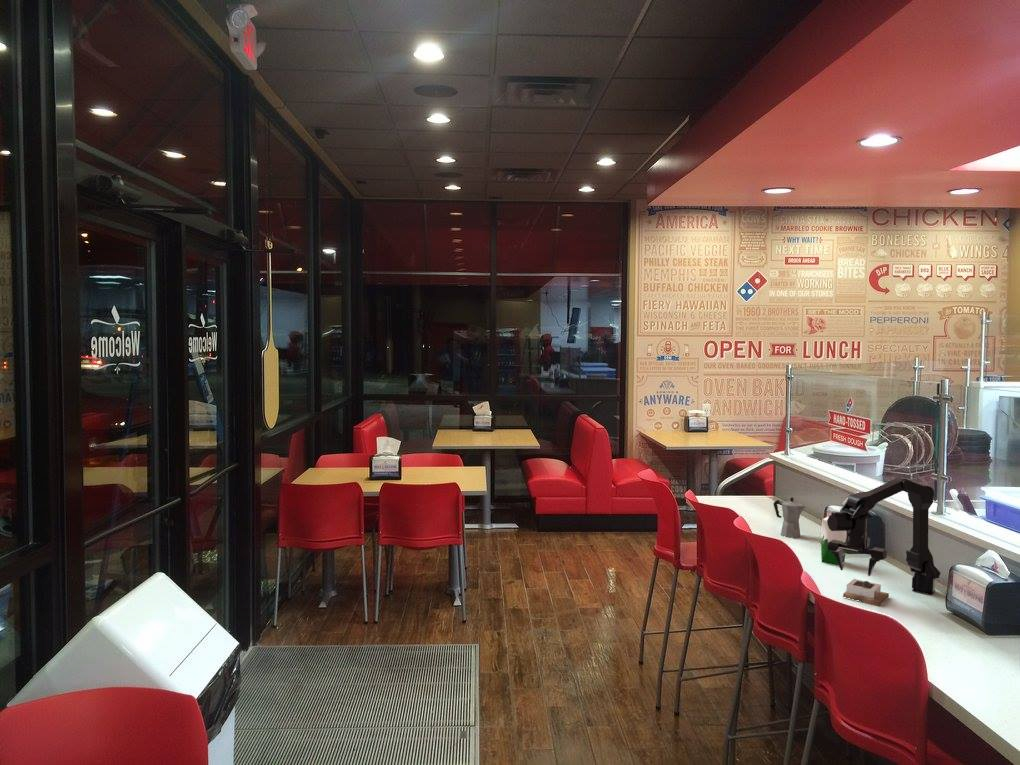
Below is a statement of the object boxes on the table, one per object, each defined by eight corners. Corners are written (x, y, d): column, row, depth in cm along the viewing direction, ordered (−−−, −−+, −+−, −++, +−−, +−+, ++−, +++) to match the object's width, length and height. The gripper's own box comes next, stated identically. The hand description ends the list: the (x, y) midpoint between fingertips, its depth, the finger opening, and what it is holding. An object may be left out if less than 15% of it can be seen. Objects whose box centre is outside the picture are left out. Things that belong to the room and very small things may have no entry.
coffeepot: (808, 536, 339) (810, 498, 338) (799, 540, 333) (801, 501, 332) (777, 530, 350) (778, 493, 349) (767, 533, 344) (769, 495, 343)
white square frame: (880, 592, 259) (880, 584, 259) (873, 599, 252) (874, 590, 252) (853, 586, 265) (853, 578, 265) (846, 593, 258) (846, 584, 258)
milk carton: (841, 566, 294) (843, 518, 293) (818, 562, 299) (820, 514, 298) (847, 562, 300) (849, 514, 299) (824, 557, 306) (826, 510, 305)
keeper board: (888, 597, 259) (889, 580, 259) (879, 606, 250) (880, 589, 250) (852, 589, 267) (853, 573, 266) (843, 597, 258) (843, 581, 257)
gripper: (891, 530, 259) (889, 573, 260) (836, 521, 272) (835, 562, 272) (883, 536, 251) (881, 581, 252) (827, 527, 263) (825, 569, 264)
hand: (855, 573), depth 260 cm, fingers open, 9 cm apart
